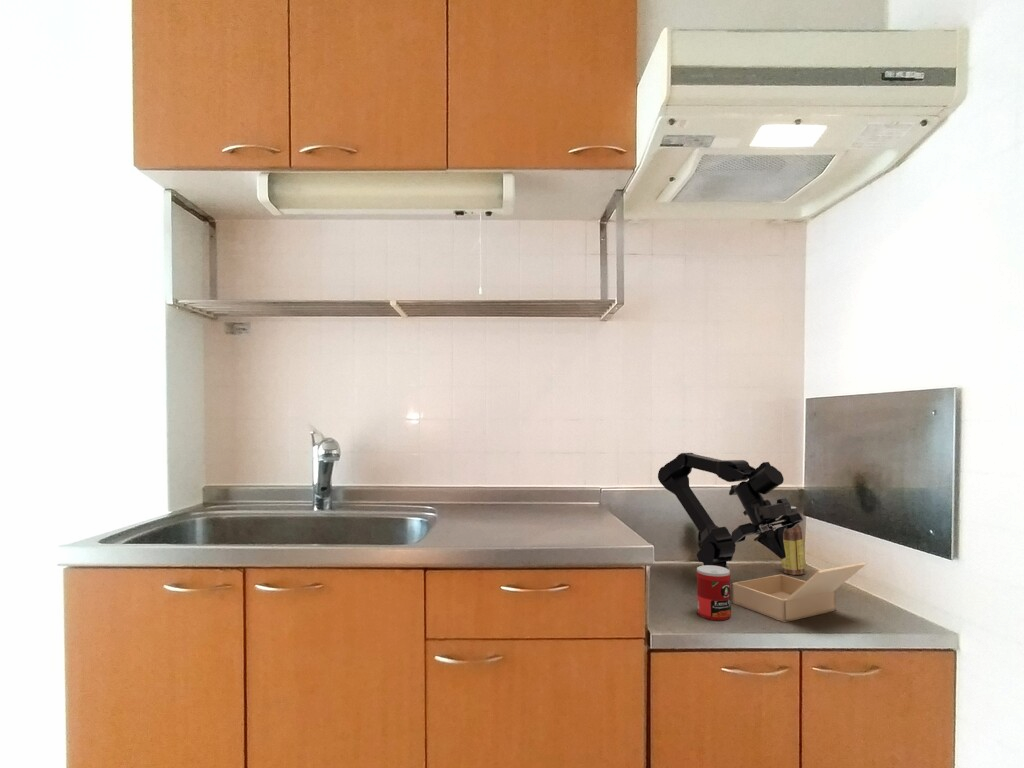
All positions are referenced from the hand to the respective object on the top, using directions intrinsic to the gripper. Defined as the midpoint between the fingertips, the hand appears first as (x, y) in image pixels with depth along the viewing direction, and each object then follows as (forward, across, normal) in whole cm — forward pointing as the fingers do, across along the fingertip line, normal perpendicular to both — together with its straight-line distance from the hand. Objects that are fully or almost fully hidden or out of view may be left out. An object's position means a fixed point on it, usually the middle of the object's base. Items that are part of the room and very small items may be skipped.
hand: (783, 558), depth 152 cm
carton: (+10, -3, +6) cm, 12 cm away
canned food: (+8, -23, +4) cm, 24 cm away
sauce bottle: (0, +21, +28) cm, 36 cm away
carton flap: (+9, +1, -9) cm, 13 cm away
